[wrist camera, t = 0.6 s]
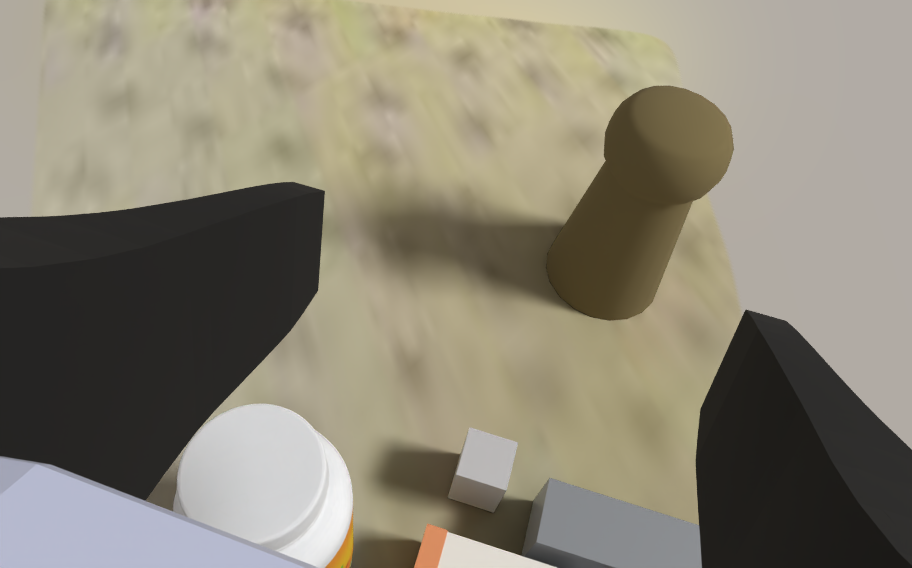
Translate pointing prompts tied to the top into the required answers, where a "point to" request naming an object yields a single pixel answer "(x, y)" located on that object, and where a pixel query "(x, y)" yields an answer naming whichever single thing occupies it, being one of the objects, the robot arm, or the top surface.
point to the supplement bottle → (270, 484)
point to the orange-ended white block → (466, 553)
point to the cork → (639, 201)
